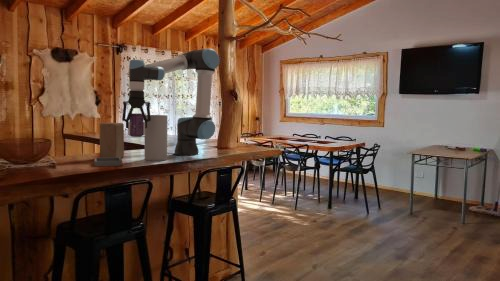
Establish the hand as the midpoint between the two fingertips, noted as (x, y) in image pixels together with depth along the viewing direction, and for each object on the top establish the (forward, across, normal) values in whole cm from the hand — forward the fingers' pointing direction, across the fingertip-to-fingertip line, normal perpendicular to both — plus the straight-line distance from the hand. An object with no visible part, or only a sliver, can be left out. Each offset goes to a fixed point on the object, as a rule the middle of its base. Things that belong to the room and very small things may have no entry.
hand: (136, 134), depth 210 cm
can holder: (+15, +14, -2) cm, 21 cm away
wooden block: (+16, +11, -23) cm, 30 cm away
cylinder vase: (+16, -12, -13) cm, 23 cm away
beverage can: (+1, 0, 0) cm, 1 cm away
